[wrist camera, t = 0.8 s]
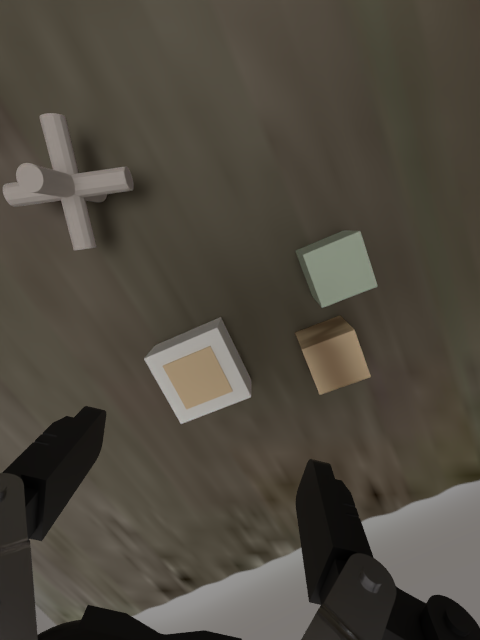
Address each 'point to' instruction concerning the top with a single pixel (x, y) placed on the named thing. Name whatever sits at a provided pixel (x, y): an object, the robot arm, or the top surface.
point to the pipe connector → (66, 182)
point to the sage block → (337, 267)
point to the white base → (200, 371)
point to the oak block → (333, 354)
